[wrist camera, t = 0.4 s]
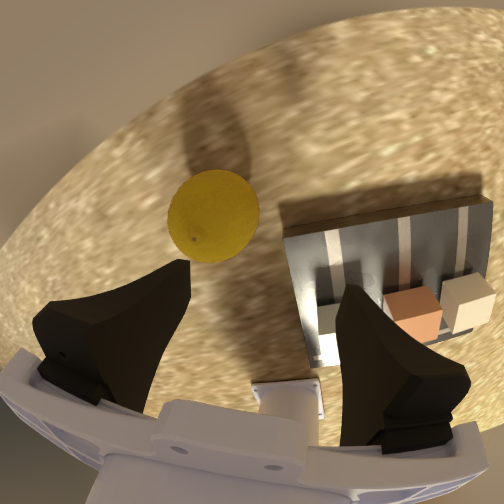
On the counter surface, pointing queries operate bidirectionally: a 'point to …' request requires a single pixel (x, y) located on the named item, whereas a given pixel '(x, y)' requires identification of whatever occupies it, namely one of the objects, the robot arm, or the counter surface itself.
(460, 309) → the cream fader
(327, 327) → the block
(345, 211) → the counter surface
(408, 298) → the block
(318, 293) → the panel
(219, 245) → the lemon
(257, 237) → the counter surface
